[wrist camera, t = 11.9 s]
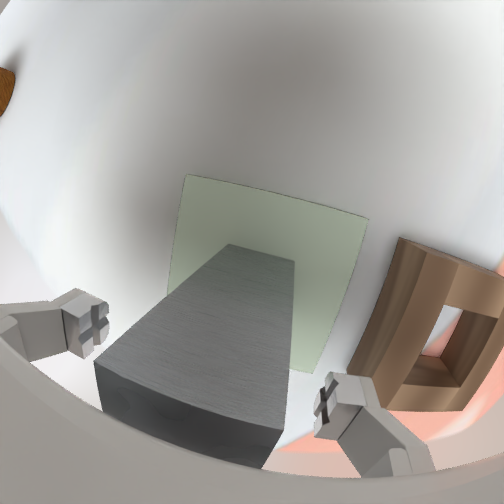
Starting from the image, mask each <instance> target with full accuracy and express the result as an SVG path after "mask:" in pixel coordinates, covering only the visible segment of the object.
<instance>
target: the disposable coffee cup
mask: <svg viewBox="0 0 504 504" xmlns="http://www.w3.org/2000/svg"><path fill="white" fill-rule="evenodd" d="M14 83H15V74H14V73H13V72H11V71H9V70H6V69H4V68H1V67H0V116H1V115H2V114H3V112H4V110H5V109H6V107H7V105H8V102H9V100H10V97H11V95H12V91H13V88H14Z"/></svg>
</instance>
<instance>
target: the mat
mask: <svg viewBox="0 0 504 504" xmlns="http://www.w3.org/2000/svg"><path fill="white" fill-rule="evenodd" d="M368 220H369V219H367V218H364V217H361V216H357V215H354V214H351V213H347V212H344V211H340V210H337V209H333V208H330V207H326V206H323V205H319V204H315V203H312V202H308V201H304V200H300V199H297V198H293V197H289V196H285V195H281V194H277V193H273V192H268V191H264V190H260V189H256V188H251V187H247V186H242V185H238V184H233V183H229V182H224V181H219V180H214V179H209V178H204V177H199V176H194V175H187V174H186V176H185V181H184V186H183V191H182V196H181V202H180V207H179V213H178V219H177V225H176V231H175V237H174V244H173V251H172V258H171V265H170V273H169V281H168V290H167V295H169V294H170V293H171V292H172V291H173V290H174V289H175V288H177V287H178V286H179V285H180V284H181V283H182V282H184V281H185V280H186V279H187V278H188V277H189V276H191V275H192V274H193V273H194V272H195V271H197V270H198V269H199V268H200V267H201V266H202V265H204V264H205V263H206V262H207V261H208V260H210V259H211V258H212V257H213V256H214V255H215V254H217V253H218V252H219V251H220V250H221V249H223V248H224V247H225V246H226V245H227V244H232V245H236V246H240V247H244V248H247V249H251V250H255V251H259V252H263V253H266V254H270V255H274V256H278V257H282V258H286V259H289V260H293V261H295V270H294V298H293V319H292V337H291V353H290V367H289V369H292V370H297V371H301V372H306V373H311V374H313V372H314V369H315V367H316V365H317V363H318V361H319V358H320V356H321V354H322V351H323V349H324V347H325V344H326V342H327V340H328V337H329V335H330V332H331V330H332V327H333V325H334V322H335V320H336V317H337V314H338V312H339V309H340V307H341V304H342V301H343V298H344V296H345V293H346V290H347V287H348V284H349V281H350V279H351V276H352V273H353V270H354V267H355V264H356V260H357V257H358V254H359V251H360V248H361V244H362V241H363V238H364V234H365V231H366V227H367V224H368Z"/></svg>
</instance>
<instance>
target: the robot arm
mask: <svg viewBox="0 0 504 504" xmlns="http://www.w3.org/2000/svg"><path fill="white" fill-rule="evenodd" d="M108 313H109V305H108V304H107V302H105V301H103V300H101V299H99V298H97V297H95V296H93V295H91V294H89V293H86V292H85V291H83V290H81V289H77V288H75V289H73V290H71V291H69V292H67V293H65V294H64V295H62V296H60V297H58V298H56V299H55V300H53V301H51V302H49V301H39V302H26V303H12V304H0V504H504V453H500V454H497V455H494V456H492V457H488V458H485V459H482V460H479V461H476V462H472V463H468V464H465V465H461V466H457V467H452V468H448V469H443V470H438V471H436V470H435V466H434V463H433V461H432V457H431V455H430V452H429V449H428V446H427V445H426V444H425V443H424V442H422V441H421V440H420V439H419V438H418V437H417V436H416V435H414V434H413V433H412V432H411V431H410V430H409V429H408V428H406V427H405V426H404V425H403V424H402V423H401V422H400V421H399V420H397V419H396V418H395V417H394V416H393V415H392V414H391V413H390V412H388V411H387V410H386V409H385V408H381V406H380V403H379V400H378V397H377V393H376V390H375V387H374V384H373V381H372V379H371V378H370V377H366V376H354V375H348V374H342V373H336V372H329V374H328V375H327V377H326V378H325V386H324V387H323V388H321V389H320V390H319V392H318V394H317V396H316V399H315V402H314V415H315V416H316V417H317V419H316V421H315V422H314V437H315V438H322V439H329V440H337V442H338V443H339V445H340V446H341V448H342V449H343V451H344V452H345V454H346V455H347V457H348V458H349V460H350V461H351V462H352V464H353V465H354V467H355V468H356V470H357V471H358V472H359V474H360V475H361V478H332V477H316V476H305V475H296V474H288V473H281V472H275V471H269V470H263V469H258V468H253V467H248V466H244V465H239V464H235V463H231V462H227V461H223V460H220V459H216V458H213V457H209V456H206V455H203V454H199V453H196V452H193V451H190V450H187V449H184V448H182V447H179V446H176V445H174V444H171V443H168V442H166V441H163V440H161V439H158V438H156V437H153V436H151V435H149V434H147V433H144V432H142V431H140V430H138V429H136V428H133V427H131V426H129V425H127V424H125V423H123V422H121V421H119V420H117V419H115V418H113V417H112V416H110V415H108V414H106V413H104V412H102V411H101V410H99V409H97V408H95V407H94V406H92V405H90V404H88V403H87V402H85V401H83V400H82V399H80V398H79V397H77V396H76V395H74V394H72V393H71V392H69V391H68V390H66V389H65V388H63V387H62V386H60V385H59V384H58V383H56V382H55V381H53V380H52V379H51V378H49V377H48V376H47V375H45V374H44V373H43V372H41V371H40V370H39V369H37V368H36V367H35V366H33V365H32V364H31V363H30V362H32V361H36V360H39V359H42V358H46V357H49V356H52V355H56V354H59V353H63V352H66V351H67V350H68V351H70V352H72V353H74V354H75V355H77V356H79V357H81V358H83V359H85V358H86V357H87V356H88V355H89V354H90V353H92V352H93V351H94V346H95V345H100V344H102V343H103V342H104V341H105V339H106V337H107V335H108V333H109V321H108V319H107V317H106V316H107V314H108Z"/></svg>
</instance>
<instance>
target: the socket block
mask: <svg viewBox="0 0 504 504" xmlns="http://www.w3.org/2000/svg"><path fill="white" fill-rule="evenodd" d="M443 305H448V306H452V307H456V308H459V309H463V310H464V311H463V313H462V315H461V318H460V320H459V322H458V324H457V326H456V328H455V330H454V332H453V334H452V336H451V338H450V340H449V342H448V344H447V346H446V348H445V350H444V352H443V353H442V355H441V357H440V358H438V357H430V356H423V355H420V353H421V351H422V349H423V347H424V345H425V343H426V342H427V340H428V338H429V336H430V334H431V332H432V329H433V327H434V325H435V323H436V321H437V319H438V317H439V314H440V312H441V310H442V308H443ZM503 346H504V277H503V276H501V275H499V274H497V273H495V272H493V271H490V270H488V269H485V268H483V267H480V266H478V265H475V264H473V263H470V262H467V261H465V260H462V259H460V258H457V257H454V256H451V255H449V254H446V253H443V252H440V251H438V250H435V249H432V248H429V247H426V246H423V245H421V244H418V243H415V242H412V241H409V240H406V239H403V238H400V237H399V240H398V244H397V247H396V250H395V253H394V256H393V260H392V263H391V265H390V268H389V271H388V274H387V277H386V280H385V283H384V285H383V288H382V291H381V293H380V296H379V298H378V301H377V304H376V306H375V308H374V311H373V313H372V316H371V318H370V320H369V323H368V325H367V327H366V330H365V332H364V334H363V336H362V339H361V341H360V343H359V345H358V347H357V349H356V351H355V354H354V356H353V358H352V360H351V362H350V364H349V366H348V368H347V374H348V375H354V376H366V377H370V378H371V379H372V381H373V384H374V387H375V390H376V393H377V397H378V400H379V403H380V406H381V408H385V409H386V410H391V411H414V412H446V411H462V410H463V409H464V408H465V406H466V405H467V404H468V402H469V401H470V400H471V398H472V397H473V395H474V394H475V393H476V391H477V390H478V388H479V387H480V385H481V384H482V382H483V381H484V379H485V377H486V376H487V374H488V373H489V371H490V369H491V368H492V366H493V364H494V363H495V361H496V359H497V357H498V355H499V354H500V352H501V350H502V348H503Z"/></svg>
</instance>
